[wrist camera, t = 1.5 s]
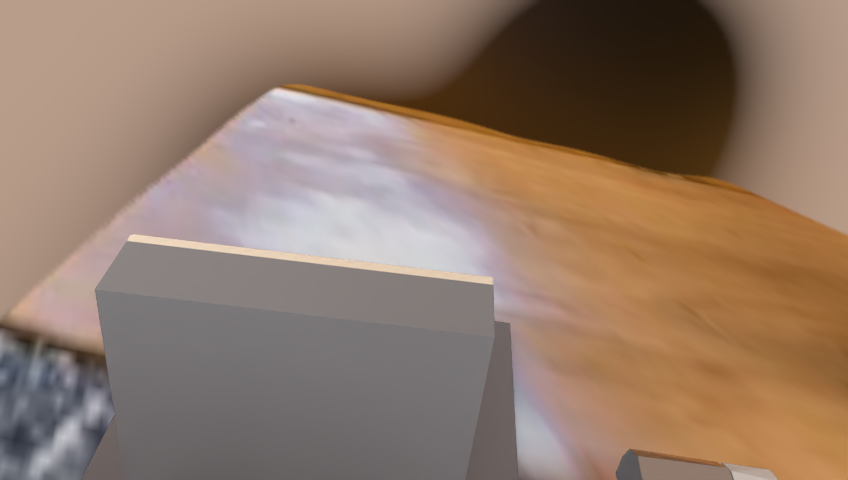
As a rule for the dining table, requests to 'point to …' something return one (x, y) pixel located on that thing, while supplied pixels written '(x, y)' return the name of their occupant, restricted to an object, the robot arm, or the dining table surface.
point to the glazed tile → (291, 364)
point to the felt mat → (492, 444)
